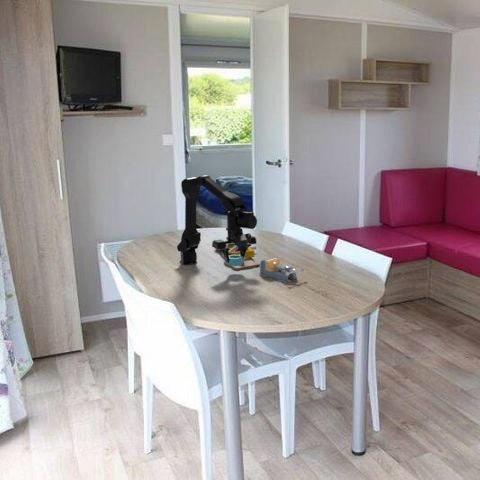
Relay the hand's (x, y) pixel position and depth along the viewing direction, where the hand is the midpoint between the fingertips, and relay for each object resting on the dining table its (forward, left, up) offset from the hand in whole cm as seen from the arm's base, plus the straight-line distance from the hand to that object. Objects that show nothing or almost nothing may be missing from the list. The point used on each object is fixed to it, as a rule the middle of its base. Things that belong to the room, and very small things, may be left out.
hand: (234, 261), depth 230 cm
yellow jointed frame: (+15, +25, -5) cm, 30 cm away
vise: (+14, -15, -6) cm, 21 cm away
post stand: (+8, +9, -5) cm, 13 cm away
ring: (0, 0, -1) cm, 1 cm away
